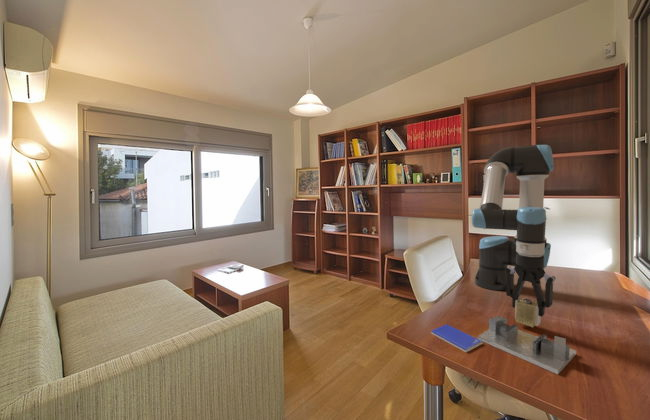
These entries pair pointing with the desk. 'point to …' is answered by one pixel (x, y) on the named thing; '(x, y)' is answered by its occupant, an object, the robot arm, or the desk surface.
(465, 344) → the hard drive
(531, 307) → the block
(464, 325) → the desk surface
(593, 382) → the desk surface
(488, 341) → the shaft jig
